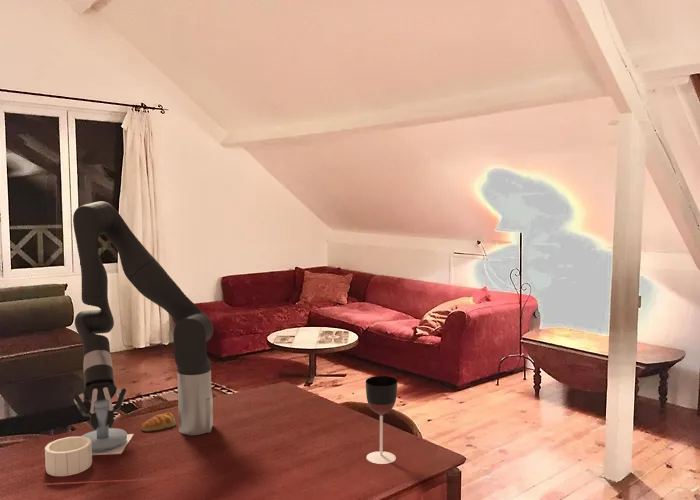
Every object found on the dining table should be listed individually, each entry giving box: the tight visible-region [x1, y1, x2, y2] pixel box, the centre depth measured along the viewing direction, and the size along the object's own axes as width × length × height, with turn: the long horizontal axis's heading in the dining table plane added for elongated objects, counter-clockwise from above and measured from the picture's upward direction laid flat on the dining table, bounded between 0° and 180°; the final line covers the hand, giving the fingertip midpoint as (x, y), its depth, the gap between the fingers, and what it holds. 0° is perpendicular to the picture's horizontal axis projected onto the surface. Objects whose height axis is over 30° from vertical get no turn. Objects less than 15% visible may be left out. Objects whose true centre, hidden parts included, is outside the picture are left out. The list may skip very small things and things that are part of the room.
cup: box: [44, 435, 93, 477], centre depth 145 cm, size 10×10×6 cm
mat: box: [92, 433, 135, 456], centre depth 158 cm, size 13×13×1 cm
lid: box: [81, 400, 128, 451], centre depth 158 cm, size 12×12×11 cm
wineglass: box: [365, 375, 398, 465], centre depth 150 cm, size 8×9×20 cm
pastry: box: [140, 411, 177, 432], centre depth 171 cm, size 9×7×4 cm
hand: (102, 427), depth 156 cm, fingers closed on lid, 3 cm apart
